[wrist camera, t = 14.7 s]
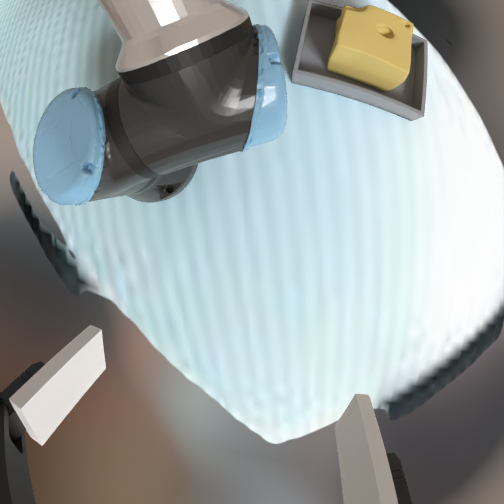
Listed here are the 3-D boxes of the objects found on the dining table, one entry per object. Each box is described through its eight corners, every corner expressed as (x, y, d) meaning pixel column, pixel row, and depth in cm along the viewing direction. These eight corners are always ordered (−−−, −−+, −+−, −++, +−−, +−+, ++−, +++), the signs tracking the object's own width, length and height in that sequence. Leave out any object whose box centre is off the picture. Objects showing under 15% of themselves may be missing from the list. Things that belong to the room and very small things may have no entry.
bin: (291, 82, 35) (292, 72, 31) (306, 13, 31) (308, -1, 27) (411, 121, 34) (423, 116, 30) (416, 50, 30) (427, 40, 26)
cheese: (334, 25, 31) (345, -7, 21) (395, 48, 30) (418, 23, 21) (323, 72, 34) (333, 44, 24) (387, 96, 33) (414, 77, 24)
